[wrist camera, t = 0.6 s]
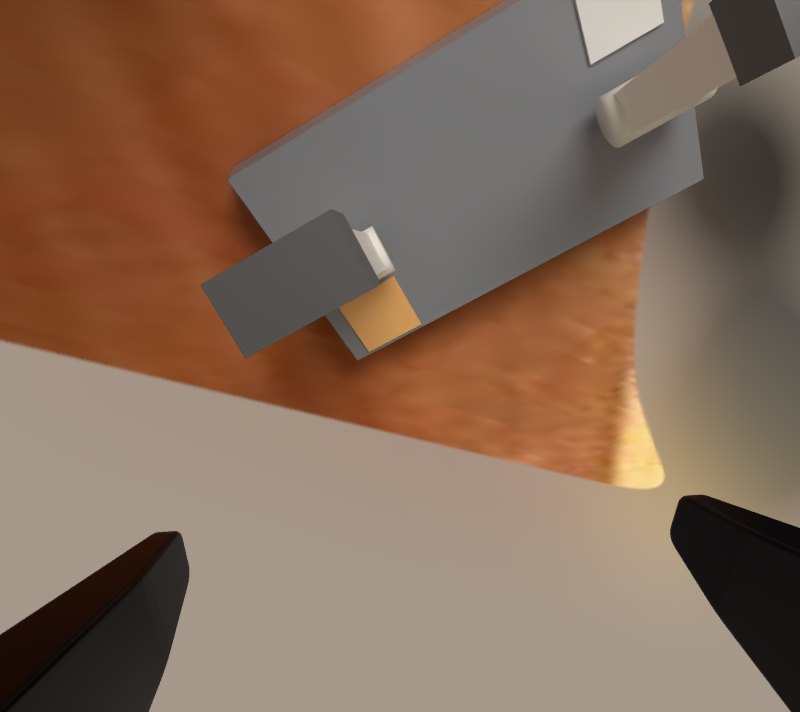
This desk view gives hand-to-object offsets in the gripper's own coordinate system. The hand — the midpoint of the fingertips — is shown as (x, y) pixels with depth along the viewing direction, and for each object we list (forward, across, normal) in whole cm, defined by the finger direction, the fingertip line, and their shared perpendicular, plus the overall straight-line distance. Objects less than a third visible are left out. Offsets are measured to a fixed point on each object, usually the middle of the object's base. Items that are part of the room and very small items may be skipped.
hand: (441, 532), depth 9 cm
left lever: (+12, -2, +2) cm, 12 cm away
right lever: (+11, +9, +8) cm, 16 cm away
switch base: (+14, +4, +5) cm, 16 cm away
